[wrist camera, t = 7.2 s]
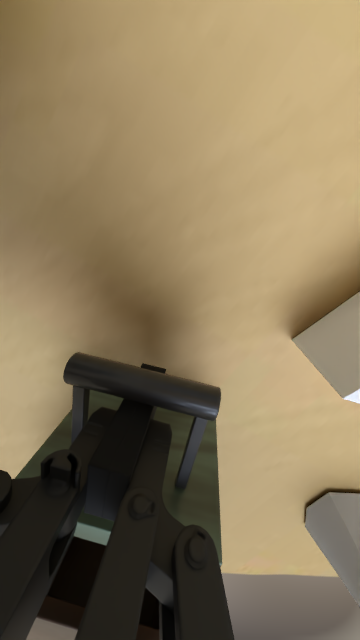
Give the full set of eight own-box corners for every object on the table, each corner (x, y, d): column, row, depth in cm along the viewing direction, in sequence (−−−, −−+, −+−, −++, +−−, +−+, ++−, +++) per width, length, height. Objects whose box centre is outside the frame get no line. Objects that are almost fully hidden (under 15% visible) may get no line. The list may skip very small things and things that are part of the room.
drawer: (99, 308, 16) (-22, 381, 7) (239, 342, 15) (277, 459, 7) (86, 480, 22) (15, 618, 14) (183, 507, 22) (169, 666, 14)
